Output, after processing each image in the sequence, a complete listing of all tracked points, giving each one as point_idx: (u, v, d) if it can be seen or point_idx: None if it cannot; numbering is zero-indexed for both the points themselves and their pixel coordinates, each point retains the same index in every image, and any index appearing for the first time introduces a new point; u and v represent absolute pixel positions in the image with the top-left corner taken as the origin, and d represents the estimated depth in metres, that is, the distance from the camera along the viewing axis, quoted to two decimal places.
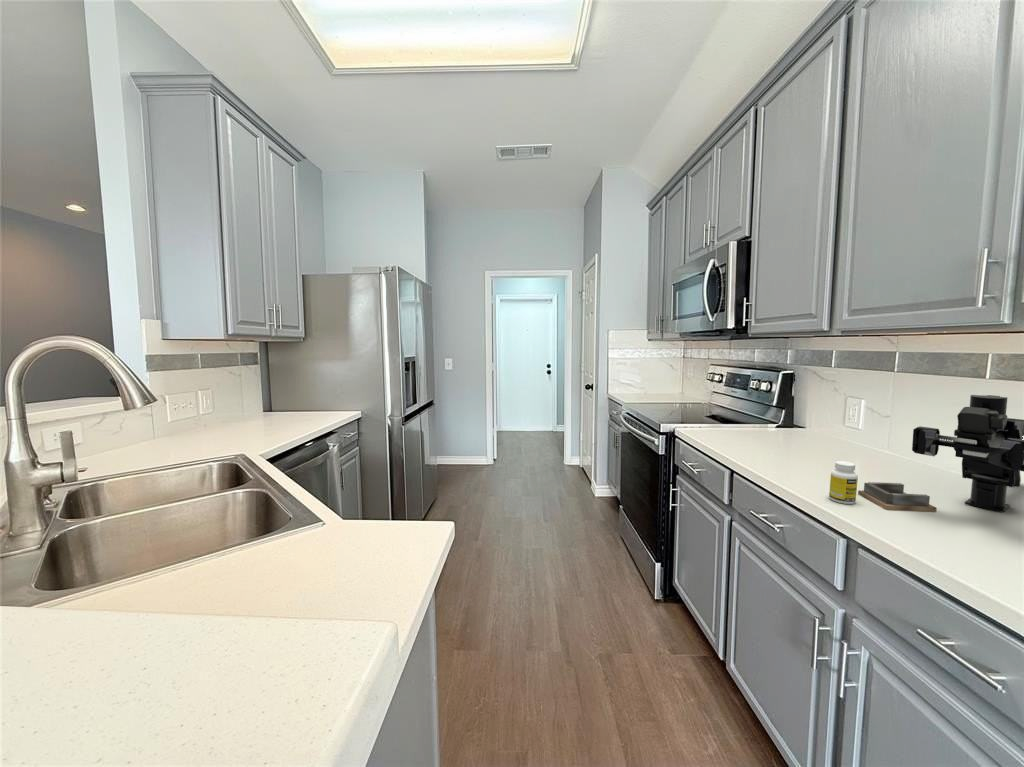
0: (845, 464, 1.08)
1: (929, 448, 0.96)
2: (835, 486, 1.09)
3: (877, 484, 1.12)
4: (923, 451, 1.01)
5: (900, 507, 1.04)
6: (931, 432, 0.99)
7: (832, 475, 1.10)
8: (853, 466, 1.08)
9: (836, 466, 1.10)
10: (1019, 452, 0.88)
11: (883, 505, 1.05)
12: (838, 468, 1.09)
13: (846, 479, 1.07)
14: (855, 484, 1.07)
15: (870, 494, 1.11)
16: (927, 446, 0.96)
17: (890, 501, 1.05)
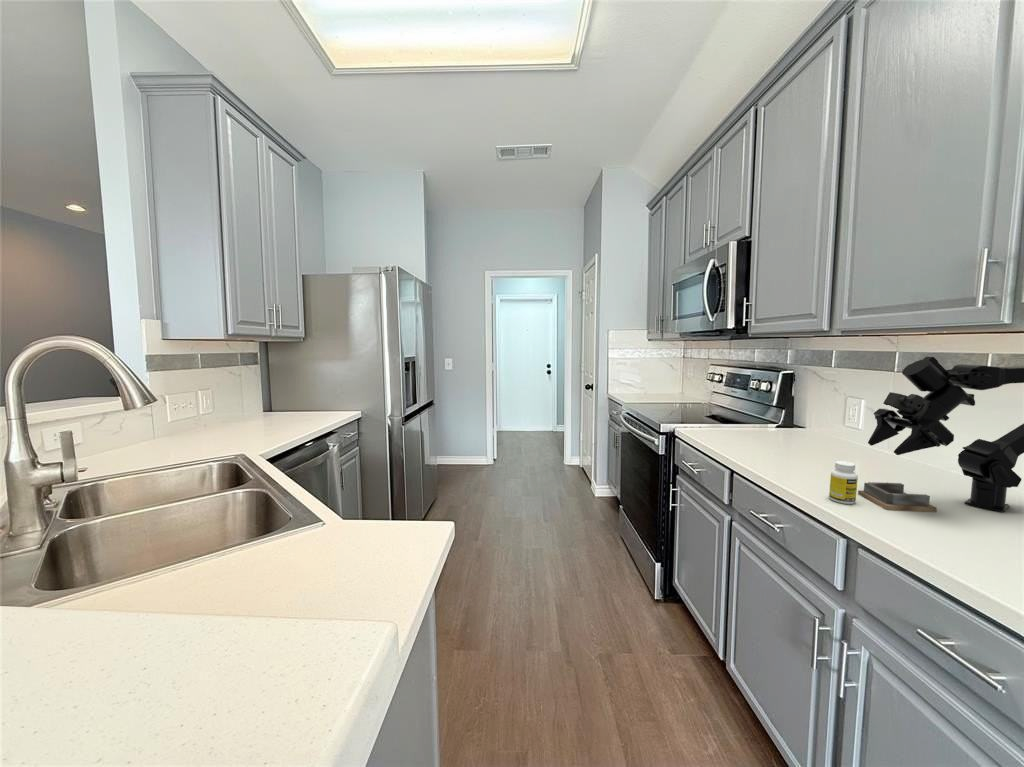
0: (845, 464, 1.08)
1: (872, 441, 1.12)
2: (835, 486, 1.09)
3: (877, 484, 1.12)
4: None
5: (900, 507, 1.04)
6: (879, 419, 1.12)
7: (832, 475, 1.10)
8: (853, 466, 1.08)
9: (836, 466, 1.10)
10: (926, 435, 0.99)
11: (883, 505, 1.05)
12: (838, 468, 1.09)
13: (846, 479, 1.07)
14: (855, 484, 1.07)
15: (870, 494, 1.11)
16: (869, 441, 1.12)
17: (890, 501, 1.05)
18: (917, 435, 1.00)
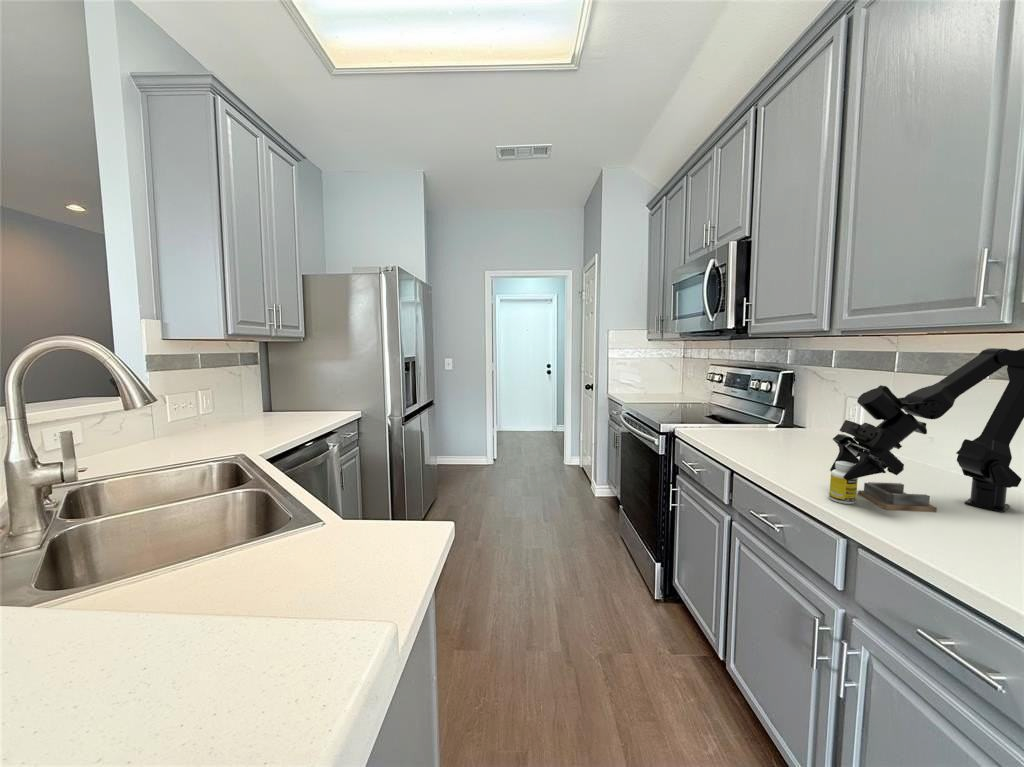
0: (845, 464, 1.08)
1: None
2: (835, 486, 1.09)
3: (877, 484, 1.12)
4: None
5: (900, 507, 1.04)
6: (841, 446, 1.13)
7: (832, 475, 1.10)
8: None
9: (836, 466, 1.10)
10: (872, 462, 1.03)
11: (883, 505, 1.05)
12: (838, 468, 1.09)
13: None
14: (855, 484, 1.07)
15: (870, 494, 1.11)
16: (831, 468, 1.13)
17: (890, 501, 1.05)
18: (864, 462, 1.04)
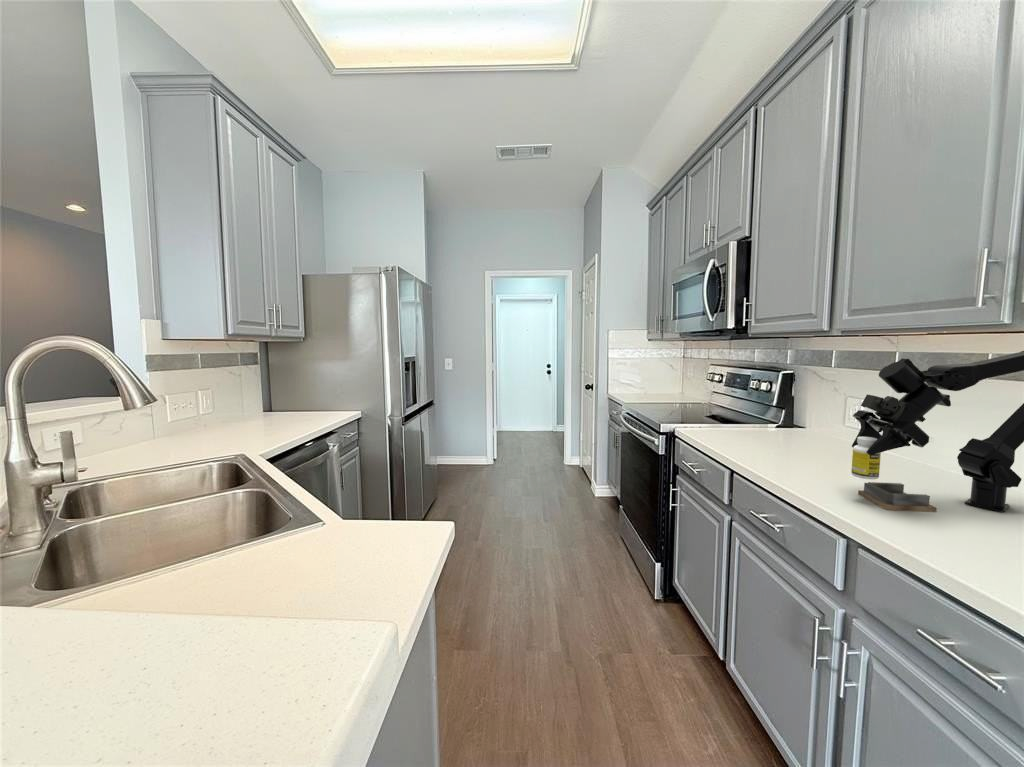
0: (868, 439, 1.07)
1: (855, 445, 1.11)
2: (858, 461, 1.08)
3: (877, 484, 1.12)
4: None
5: (900, 507, 1.04)
6: (862, 422, 1.11)
7: (854, 451, 1.09)
8: None
9: (858, 441, 1.08)
10: (896, 435, 1.02)
11: (883, 505, 1.05)
12: (860, 443, 1.08)
13: None
14: (878, 459, 1.06)
15: (870, 494, 1.11)
16: (852, 444, 1.11)
17: (890, 501, 1.05)
18: (888, 435, 1.03)
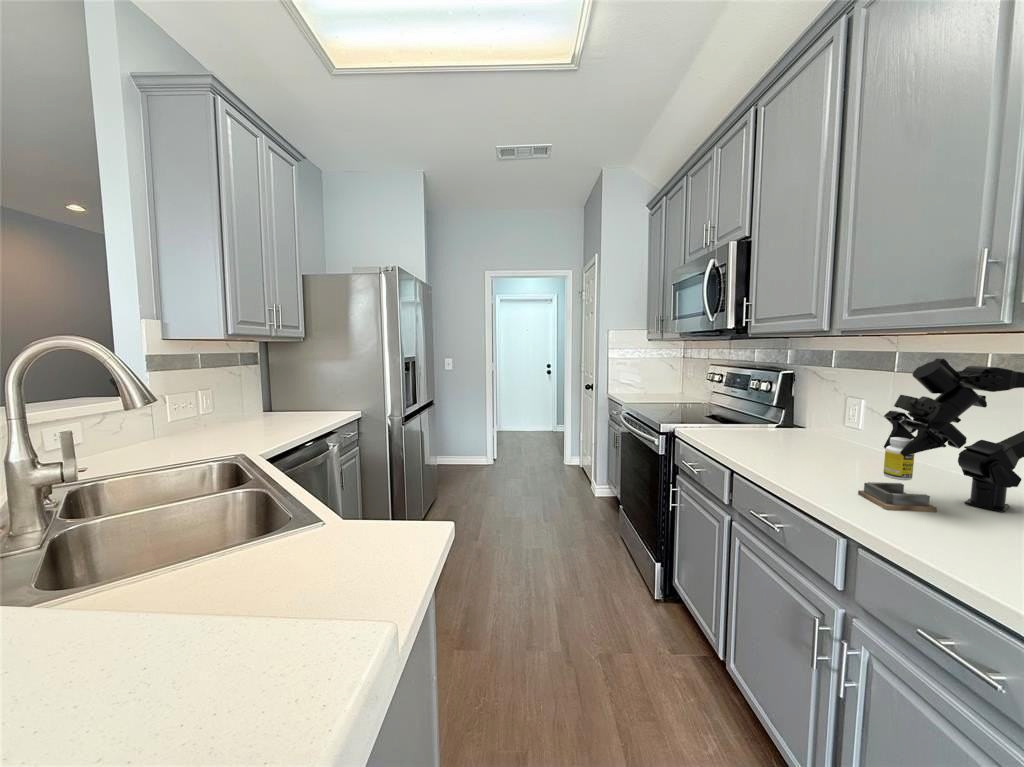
0: (902, 440, 1.06)
1: None
2: (891, 462, 1.07)
3: (877, 484, 1.12)
4: None
5: (900, 507, 1.04)
6: (895, 422, 1.10)
7: (887, 451, 1.08)
8: (910, 441, 1.05)
9: (891, 442, 1.07)
10: (931, 436, 1.01)
11: (883, 505, 1.05)
12: (894, 444, 1.07)
13: None
14: (912, 460, 1.05)
15: (870, 494, 1.11)
16: (885, 445, 1.10)
17: (890, 501, 1.05)
18: (923, 436, 1.02)
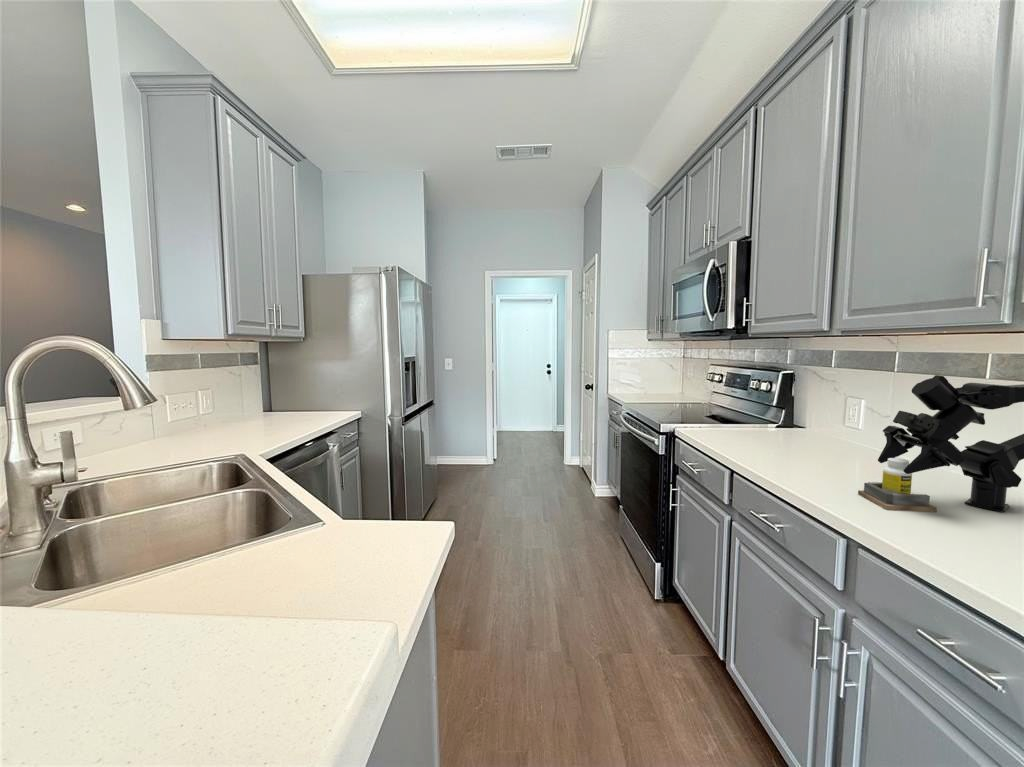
0: (899, 461, 1.06)
1: (881, 459, 1.12)
2: (889, 483, 1.07)
3: (877, 484, 1.12)
4: None
5: (900, 507, 1.04)
6: (889, 436, 1.13)
7: (885, 472, 1.08)
8: (907, 463, 1.06)
9: (889, 463, 1.08)
10: (935, 454, 0.99)
11: (883, 505, 1.05)
12: (891, 465, 1.07)
13: (901, 476, 1.06)
14: (910, 481, 1.06)
15: (870, 494, 1.11)
16: (878, 458, 1.12)
17: (890, 501, 1.05)
18: (927, 454, 1.01)
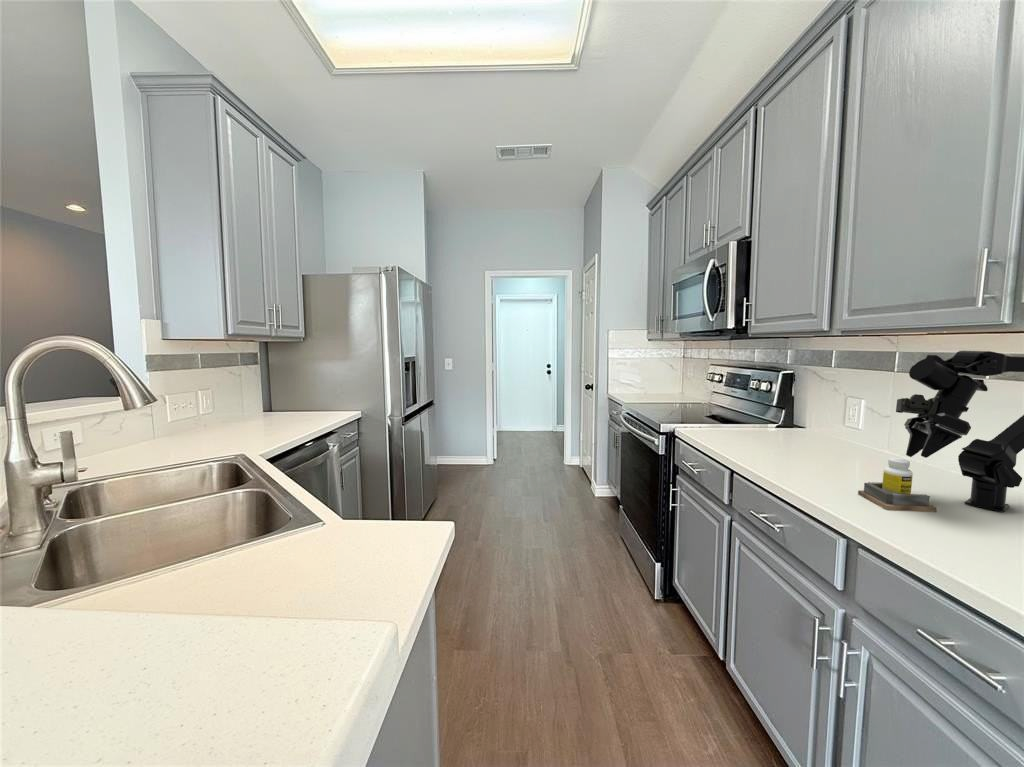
0: (900, 462, 1.06)
1: (909, 453, 1.08)
2: (889, 483, 1.07)
3: (877, 484, 1.12)
4: None
5: (900, 507, 1.04)
6: (908, 428, 1.10)
7: (885, 472, 1.08)
8: (908, 463, 1.06)
9: (890, 463, 1.08)
10: (939, 429, 0.98)
11: (883, 505, 1.05)
12: (892, 465, 1.07)
13: (901, 477, 1.06)
14: (910, 481, 1.06)
15: (870, 494, 1.11)
16: (906, 453, 1.09)
17: (890, 501, 1.05)
18: (933, 432, 0.99)
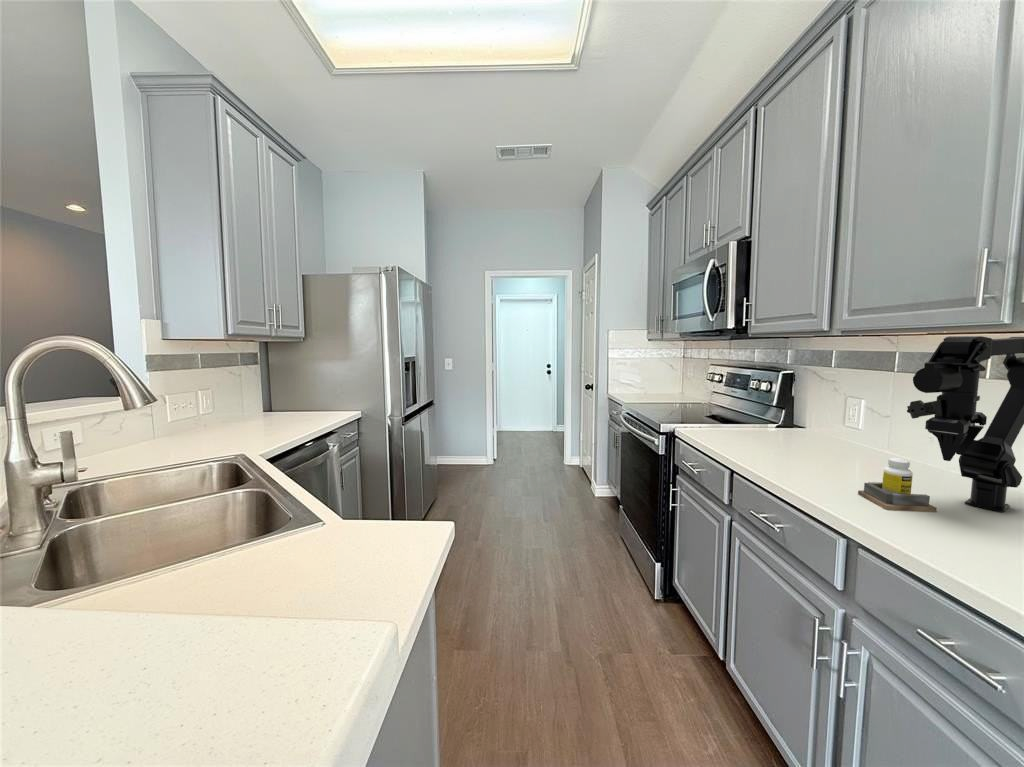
0: (900, 461, 1.06)
1: (958, 451, 1.04)
2: (889, 483, 1.07)
3: (877, 484, 1.12)
4: None
5: (900, 507, 1.04)
6: None
7: (885, 472, 1.08)
8: (908, 463, 1.06)
9: (890, 463, 1.08)
10: None
11: (883, 505, 1.05)
12: (892, 465, 1.07)
13: (901, 476, 1.06)
14: (910, 481, 1.06)
15: (870, 494, 1.11)
16: None
17: (890, 501, 1.05)
18: (938, 436, 0.99)
